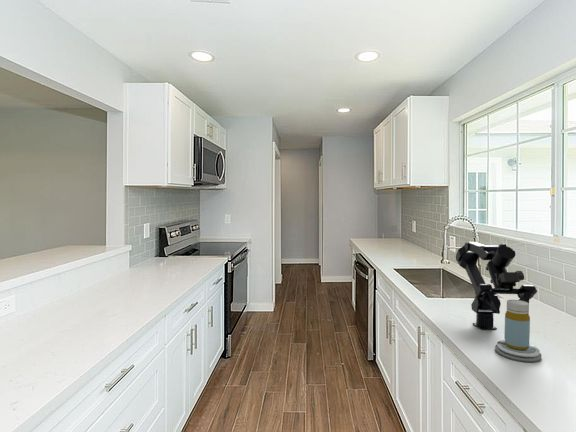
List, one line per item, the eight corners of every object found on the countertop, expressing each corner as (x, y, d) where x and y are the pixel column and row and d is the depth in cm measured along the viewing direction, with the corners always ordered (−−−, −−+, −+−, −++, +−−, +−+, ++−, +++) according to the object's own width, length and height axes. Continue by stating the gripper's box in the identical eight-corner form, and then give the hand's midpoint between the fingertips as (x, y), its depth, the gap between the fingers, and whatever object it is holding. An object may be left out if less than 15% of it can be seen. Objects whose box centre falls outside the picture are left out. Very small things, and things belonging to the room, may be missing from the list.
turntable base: (486, 345, 126) (486, 326, 126) (522, 345, 127) (522, 325, 127) (511, 363, 113) (512, 341, 113) (551, 362, 114) (552, 340, 113)
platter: (489, 343, 125) (489, 340, 125) (522, 342, 126) (522, 339, 126) (512, 358, 113) (512, 355, 113) (548, 357, 114) (549, 354, 114)
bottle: (532, 352, 116) (533, 306, 115) (508, 349, 117) (509, 304, 117) (524, 343, 122) (525, 300, 122) (501, 341, 124) (502, 298, 123)
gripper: (479, 261, 128) (492, 301, 118) (535, 262, 126) (553, 303, 116) (469, 278, 136) (481, 316, 126) (522, 279, 134) (538, 318, 124)
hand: (513, 313), depth 123 cm, fingers open, 9 cm apart
